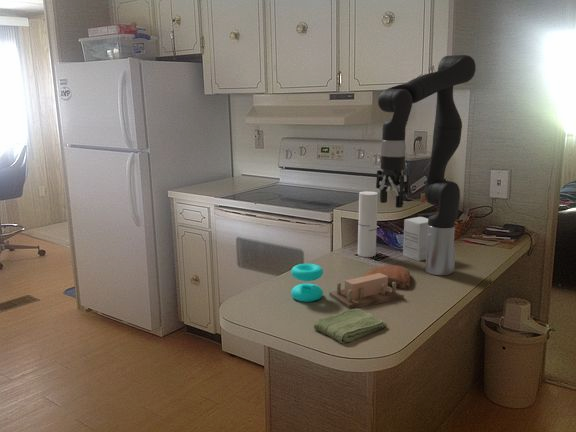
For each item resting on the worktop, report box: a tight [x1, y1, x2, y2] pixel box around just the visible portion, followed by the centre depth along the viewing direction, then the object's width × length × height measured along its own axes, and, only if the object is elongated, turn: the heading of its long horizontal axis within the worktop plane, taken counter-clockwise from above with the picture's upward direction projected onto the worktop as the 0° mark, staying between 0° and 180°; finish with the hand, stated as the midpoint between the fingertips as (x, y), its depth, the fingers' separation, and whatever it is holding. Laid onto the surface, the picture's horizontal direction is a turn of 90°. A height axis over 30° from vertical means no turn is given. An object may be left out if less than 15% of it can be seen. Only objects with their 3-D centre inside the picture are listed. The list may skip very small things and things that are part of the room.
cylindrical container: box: [357, 190, 378, 258], centre depth 214 cm, size 7×7×25 cm
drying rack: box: [329, 282, 405, 310], centre depth 172 cm, size 20×12×5 cm, turn 114°
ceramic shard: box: [365, 265, 411, 289], centre depth 187 cm, size 15×6×15 cm
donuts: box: [290, 263, 324, 303], centre depth 171 cm, size 10×10×10 cm
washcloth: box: [313, 308, 388, 344], centre depth 149 cm, size 13×18×3 cm
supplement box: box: [402, 216, 428, 262], centre depth 212 cm, size 9×9×15 cm
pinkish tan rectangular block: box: [344, 273, 389, 300], centre depth 171 cm, size 14×4×5 cm, turn 121°
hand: (391, 204), depth 174 cm, fingers open, 8 cm apart
